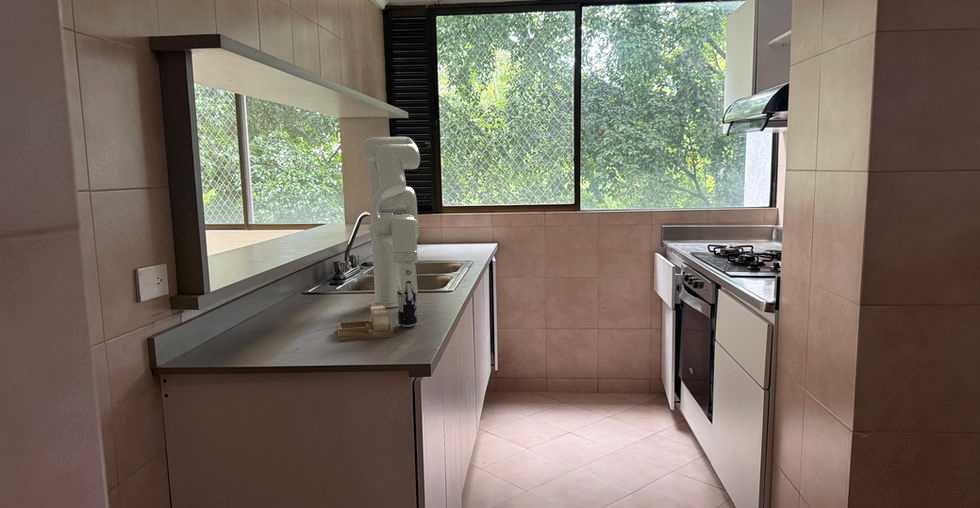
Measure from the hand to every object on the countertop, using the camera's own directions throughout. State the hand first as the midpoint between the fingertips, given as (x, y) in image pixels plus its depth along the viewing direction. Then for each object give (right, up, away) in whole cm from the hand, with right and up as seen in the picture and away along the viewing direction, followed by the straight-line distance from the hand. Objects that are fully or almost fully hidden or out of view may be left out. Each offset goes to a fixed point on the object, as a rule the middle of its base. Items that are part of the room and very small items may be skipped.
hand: (407, 314), depth 202 cm
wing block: (-7, -4, -6) cm, 11 cm away
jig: (-12, -5, -7) cm, 15 cm away
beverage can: (0, -4, +1) cm, 4 cm away
